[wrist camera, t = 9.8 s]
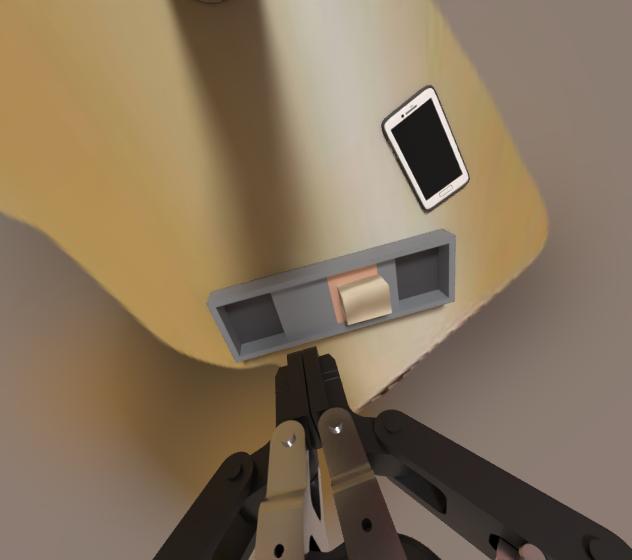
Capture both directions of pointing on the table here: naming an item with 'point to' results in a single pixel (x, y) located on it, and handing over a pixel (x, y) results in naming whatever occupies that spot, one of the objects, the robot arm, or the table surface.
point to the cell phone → (426, 148)
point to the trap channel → (332, 295)
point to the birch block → (364, 299)
